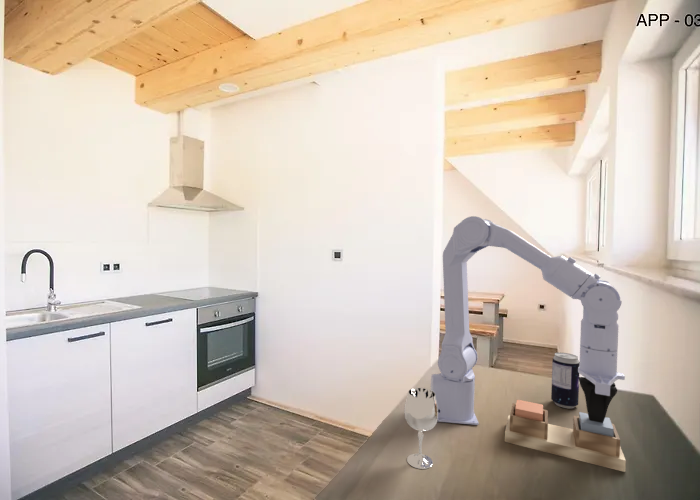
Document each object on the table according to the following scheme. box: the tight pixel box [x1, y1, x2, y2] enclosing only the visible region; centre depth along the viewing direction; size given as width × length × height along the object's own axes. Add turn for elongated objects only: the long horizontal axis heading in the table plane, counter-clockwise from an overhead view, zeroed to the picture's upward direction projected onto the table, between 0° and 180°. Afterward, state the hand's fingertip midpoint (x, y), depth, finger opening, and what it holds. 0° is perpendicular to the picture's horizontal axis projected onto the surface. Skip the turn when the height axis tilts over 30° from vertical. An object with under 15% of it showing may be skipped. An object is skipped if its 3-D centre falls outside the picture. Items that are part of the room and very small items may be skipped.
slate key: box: [578, 411, 614, 437], centre depth 68 cm, size 5×5×3 cm
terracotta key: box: [515, 399, 544, 422], centre depth 73 cm, size 5×5×3 cm
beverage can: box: [550, 352, 580, 410], centre depth 89 cm, size 6×6×12 cm
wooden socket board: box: [504, 402, 627, 473], centre depth 71 cm, size 19×8×5 cm, turn 62°
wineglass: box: [404, 387, 438, 470], centre depth 64 cm, size 6×6×12 cm
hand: (595, 420), depth 68 cm, fingers closed, pressing on slate key
